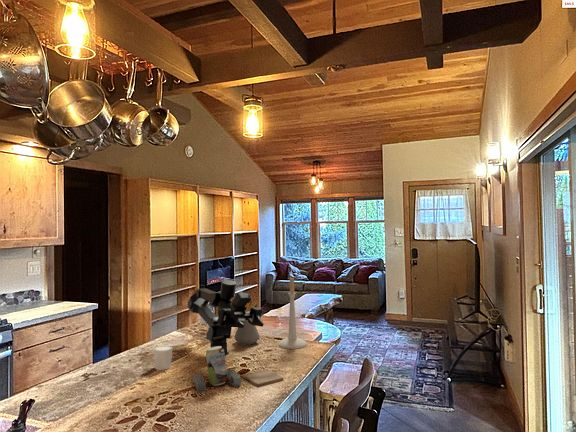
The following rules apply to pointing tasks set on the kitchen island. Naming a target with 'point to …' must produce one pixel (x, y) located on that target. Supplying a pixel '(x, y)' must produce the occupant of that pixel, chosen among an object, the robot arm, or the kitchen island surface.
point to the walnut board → (263, 377)
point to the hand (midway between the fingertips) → (253, 325)
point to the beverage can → (216, 365)
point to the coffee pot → (247, 333)
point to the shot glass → (162, 357)
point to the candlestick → (292, 325)
